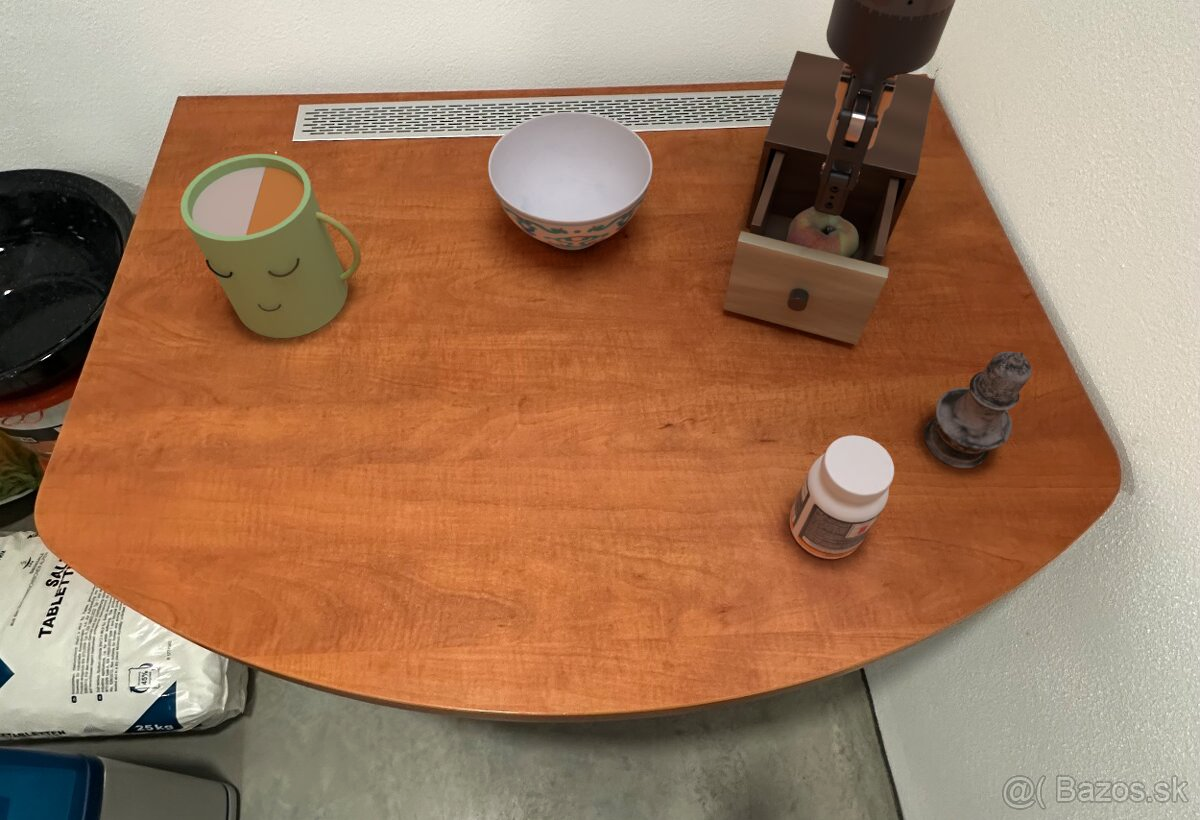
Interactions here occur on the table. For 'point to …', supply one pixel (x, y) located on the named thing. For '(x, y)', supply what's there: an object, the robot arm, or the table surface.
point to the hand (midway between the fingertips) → (836, 176)
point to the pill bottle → (842, 497)
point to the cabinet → (810, 115)
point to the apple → (823, 233)
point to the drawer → (812, 254)
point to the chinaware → (570, 177)
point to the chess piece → (978, 412)
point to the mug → (269, 243)
